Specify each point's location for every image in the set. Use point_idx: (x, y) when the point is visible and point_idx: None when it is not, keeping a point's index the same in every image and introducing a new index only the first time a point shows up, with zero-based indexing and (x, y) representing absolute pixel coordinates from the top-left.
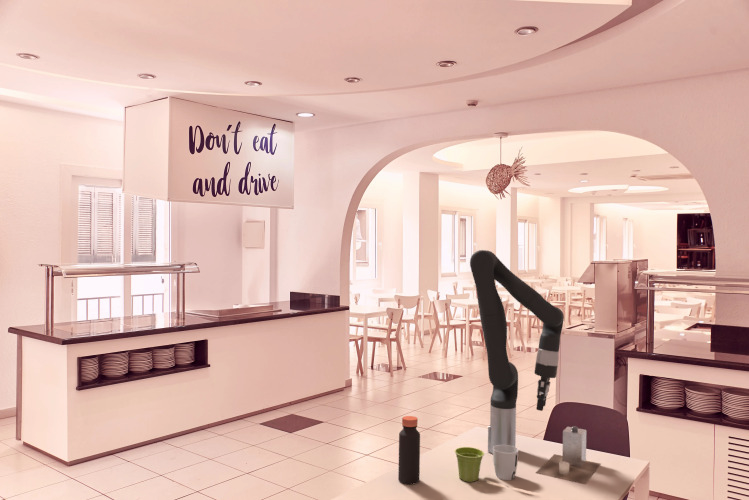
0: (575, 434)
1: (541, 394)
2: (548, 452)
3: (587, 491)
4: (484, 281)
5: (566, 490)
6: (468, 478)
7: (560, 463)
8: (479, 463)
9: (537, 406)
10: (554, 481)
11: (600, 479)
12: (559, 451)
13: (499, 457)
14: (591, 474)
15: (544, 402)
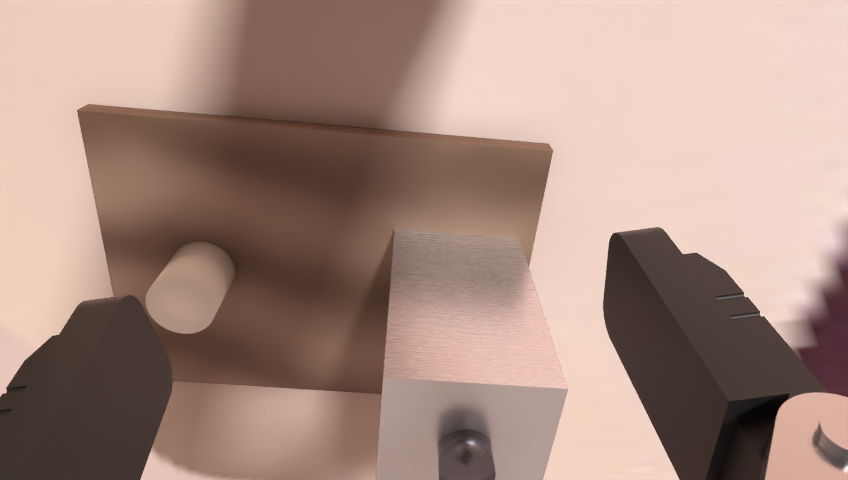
0: (377, 456)
1: (754, 446)
2: (637, 84)
3: None
4: None
5: (21, 299)
6: None
7: (153, 288)
8: None
9: (64, 354)
10: (95, 225)
11: (302, 405)
12: (691, 152)
13: None
14: (295, 383)
15: (632, 364)
